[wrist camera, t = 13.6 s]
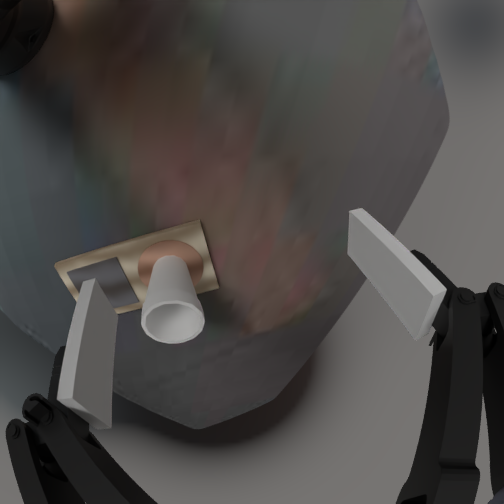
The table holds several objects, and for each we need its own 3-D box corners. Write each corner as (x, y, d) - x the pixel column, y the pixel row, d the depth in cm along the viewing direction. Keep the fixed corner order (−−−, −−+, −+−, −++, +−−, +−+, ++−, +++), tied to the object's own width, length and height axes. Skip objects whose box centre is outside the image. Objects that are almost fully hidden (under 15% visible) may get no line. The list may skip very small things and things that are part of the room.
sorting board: (55, 262, 45) (53, 267, 44) (199, 219, 49) (200, 223, 47) (90, 317, 54) (89, 321, 53) (218, 284, 57) (219, 289, 56)
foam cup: (160, 296, 54) (162, 350, 43) (134, 261, 48) (128, 315, 38) (204, 277, 54) (215, 330, 43) (181, 239, 48) (186, 290, 38)
